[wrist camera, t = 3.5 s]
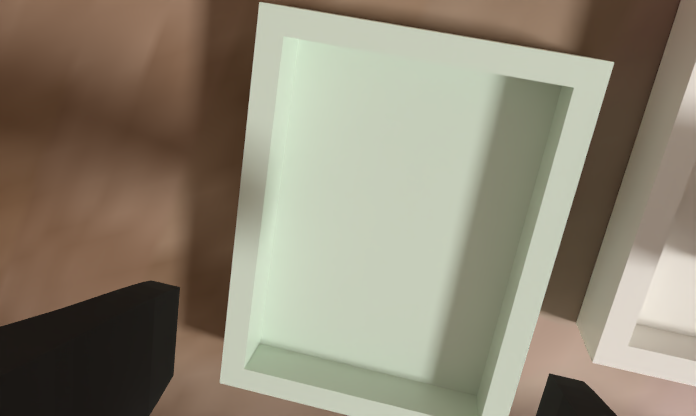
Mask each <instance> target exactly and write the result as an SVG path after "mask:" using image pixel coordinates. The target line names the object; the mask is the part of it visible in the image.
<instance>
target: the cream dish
mask: <svg viewBox="0 0 696 416" xmlns="http://www.w3.org/2000/svg"><path fill="white" fill-rule="evenodd" d="M576 324H577V326H578V329H579V331H580V334H581V336H582V339H583V341H584V343H585V346H586V348H587V351H588V353H589V356H590V358H591V360H592V363H596V364H600V365H605V366H609V367H613V368H618V369H622V370H626V371H631V372H635V373H639V374H644V375H648V376H653V377H657V378H661V379H666V380H670V381H674V382H679V383H683V384H687V385H692V386H696V0H681V1H680V4H679V7H678V11H677V14H676V17H675V20H674V23H673V26H672V29H671V32H670V35H669V38H668V41H667V44H666V48H665V51H664V54H663V57H662V60H661V63H660V66H659V69H658V72H657V75H656V78H655V82H654V85H653V88H652V91H651V94H650V97H649V100H648V103H647V106H646V109H645V112H644V115H643V119H642V122H641V125H640V128H639V131H638V134H637V137H636V140H635V143H634V146H633V149H632V152H631V156H630V159H629V162H628V165H627V168H626V171H625V174H624V177H623V180H622V183H621V186H620V189H619V193H618V196H617V199H616V202H615V205H614V208H613V211H612V214H611V217H610V220H609V223H608V226H607V230H606V233H605V236H604V239H603V242H602V245H601V248H600V251H599V254H598V257H597V260H596V264H595V267H594V270H593V273H592V276H591V279H590V282H589V285H588V288H587V291H586V294H585V297H584V301H583V304H582V307H581V310H580V313H579V316H578V319H577V322H576Z"/></svg>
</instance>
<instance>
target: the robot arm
mask: <svg viewBox="0 0 696 416" xmlns="http://www.w3.org/2000/svg"><path fill="white" fill-rule="evenodd" d="M179 291H180V287H177V286H172V285H168V284H164V283H160V282H155V281H147V282H142V283H138V284H135V285H131V286H128V287H125V288H122V289H119V290H116V291H113V292H110V293H107V294H104V295H101V296H98V297H95V298H92V299H89V300H86V301H83V302H80V303H77V304H74V305H71V306H68V307H65V308H62V309H58V310H55V311H52V312H49V313H45V314H42V315H38V316H35V317H32V318H28V319H25V320H22V321H18V322H15V323H11V324H8V325H5V326H1V327H0V416H149V415H150V414H151V412H152V410H153V409H154V407H155V405H156V404H157V402H158V401H159V399H160V397H161V396H162V394H163V392H164V390H165V389H166V387H167V385H168V384H169V382H170V380H171V378H172V377H173V373H174V359H175V346H176V332H177V319H178V305H179ZM536 416H617V415H616V414H615V413H614V412H613V411H612V410H611V409H610V408H609V407H608V406H607V405H606V404H605V402H604V401H603V400H602V399H601V398H600V397H599V396H598V395H597V394H596V393H595V392H594V391H593V390H592V389H591V388H590V387H589V386H588V385H587V384H586V383H585V382H583V381H579V380H575V379H571V378H566V377H562V376H558V375H553V374H549V376H548V379H547V383H546V386H545V389H544V392H543V395H542V398H541V402H540V405H539V408H538V411H537V414H536Z"/></svg>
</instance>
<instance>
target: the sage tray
mask: <svg viewBox="0 0 696 416" xmlns="http://www.w3.org/2000/svg"><path fill="white" fill-rule="evenodd" d="M613 65H614V62H611V61H606V60H602V59H597V58H592V57H586V56H581V55H575V54H569V53H563V52H557V51H551V50H545V49H539V48H533V47H528V46H522V45H516V44H510V43H504V42H498V41H492V40H486V39H480V38H475V37H469V36H463V35H457V34H451V33H445V32H439V31H433V30H427V29H422V28H416V27H410V26H404V25H398V24H392V23H386V22H380V21H375V20H369V19H363V18H357V17H351V16H345V15H339V14H333V13H327V12H322V11H316V10H310V9H304V8H298V7H292V6H286V5H279V4H272V3H264V2H259V10H258V20H257V29H256V39H255V49H254V58H253V68H252V77H251V87H250V97H249V106H248V116H247V125H246V135H245V145H244V154H243V164H242V174H241V183H240V193H239V202H238V212H237V222H236V231H235V241H234V250H233V260H232V270H231V279H230V289H229V298H228V308H227V318H226V327H225V337H224V346H223V356H222V366H221V375H220V383H221V384H225V385H229V386H233V387H237V388H241V389H245V390H249V391H253V392H257V393H261V394H265V395H269V396H273V397H277V398H281V399H285V400H289V401H293V402H297V403H301V404H305V405H309V406H313V407H317V408H321V409H325V410H329V411H333V412H337V413H340V414H344V415H348V416H509V413H510V410H511V406H512V403H513V400H514V396H515V393H516V389H517V386H518V383H519V379H520V376H521V373H522V369H523V366H524V363H525V359H526V356H527V353H528V349H529V346H530V343H531V339H532V336H533V333H534V329H535V326H536V323H537V319H538V316H539V313H540V309H541V306H542V303H543V299H544V296H545V293H546V289H547V286H548V283H549V279H550V276H551V272H552V269H553V266H554V262H555V259H556V256H557V252H558V249H559V246H560V242H561V239H562V236H563V232H564V229H565V226H566V222H567V219H568V216H569V212H570V209H571V206H572V202H573V199H574V196H575V192H576V189H577V186H578V182H579V179H580V176H581V172H582V169H583V166H584V162H585V159H586V155H587V152H588V149H589V145H590V142H591V139H592V135H593V132H594V129H595V125H596V122H597V119H598V115H599V112H600V109H601V105H602V102H603V99H604V95H605V92H606V89H607V85H608V82H609V79H610V75H611V72H612V69H613Z"/></svg>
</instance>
